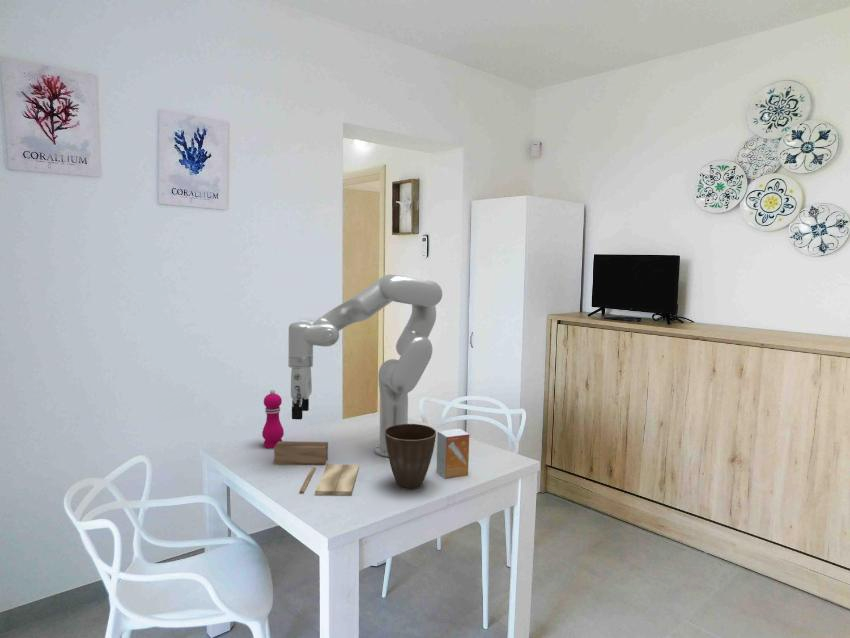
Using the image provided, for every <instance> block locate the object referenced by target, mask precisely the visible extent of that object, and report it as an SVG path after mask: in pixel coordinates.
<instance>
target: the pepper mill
mask: <svg viewBox="0 0 850 638" xmlns="http://www.w3.org/2000/svg"><path fill="white" fill-rule="evenodd" d="M282 403H283V402H282V397H281V396H280V395H279V394H278V393H276V391H275V389H270V391H269V393H268V394H267V395H266V396H265V397H264V398H263V405H264V407H265V408H264V409H265V414H266V420H265V424H264V426H263V428H262V433H261V437H262V439H264V440H263V447H264V448H265V447H266V448H265V449H269V448H274V447H275V445H276V444H277V443H278V441H283V439H282V438H283V437H284V434H285V431H284V427H283V425H282V423H281V420H280V412H281V407H280V406H281V405H282Z"/></svg>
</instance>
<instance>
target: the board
mask: <svg viewBox="0 0 850 638" xmlns="http://www.w3.org/2000/svg"><path fill="white" fill-rule="evenodd" d="M316 469H317V468H316V467H315V466H314V467H313V466H312V467H311V468H310V469H309V472H308V473H307V476H306V477H305V479H304V481H303V484H302V485H301V487H300V489H299V493H298V494H305V492H306V489H307V487H308V486H309V483H310V481H311V479H312V477H313V476H314V473H315V472H316ZM359 470H360V464H335V463H334V464H330V463H329V464H326V465H325V468H324V471H323V473H322V475H321V476H320V477H321V478H320V480H319V482H318V484H317V486H316V489H315V491H314V492H315V494H314V495H315V496H347V497H348V496H352V495H353V491H354V488H355V484H356V481H357V477H358V473H359Z"/></svg>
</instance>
